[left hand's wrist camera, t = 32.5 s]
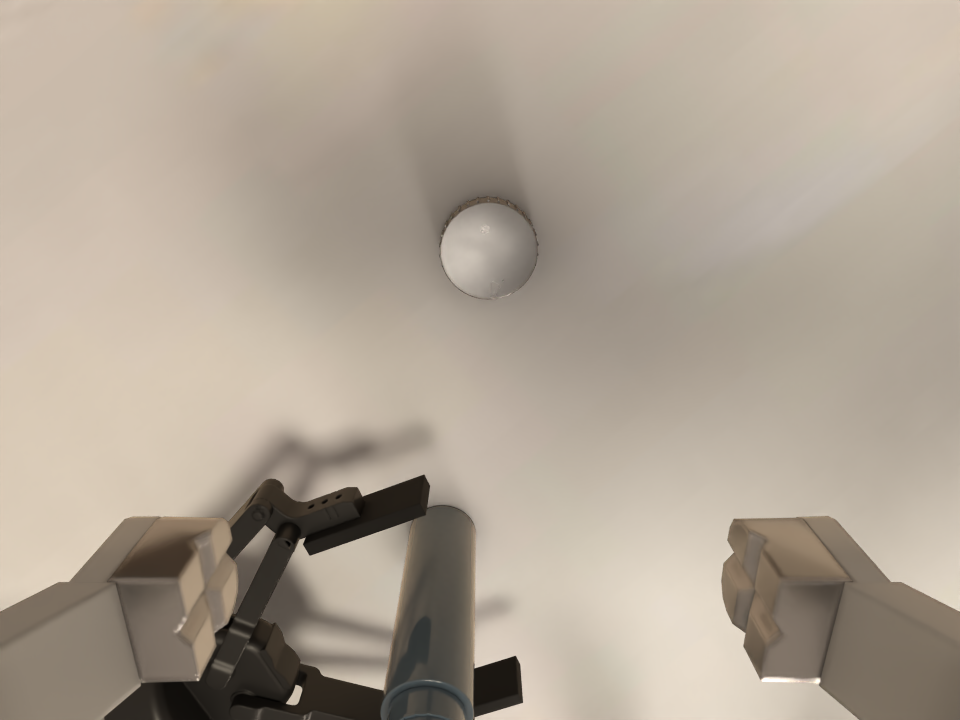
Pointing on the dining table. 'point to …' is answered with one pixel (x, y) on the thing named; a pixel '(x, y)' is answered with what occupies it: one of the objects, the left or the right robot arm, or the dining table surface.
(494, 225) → the lid
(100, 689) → the left robot arm
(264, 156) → the dining table surface
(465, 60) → the dining table surface
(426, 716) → the grey cylinder
